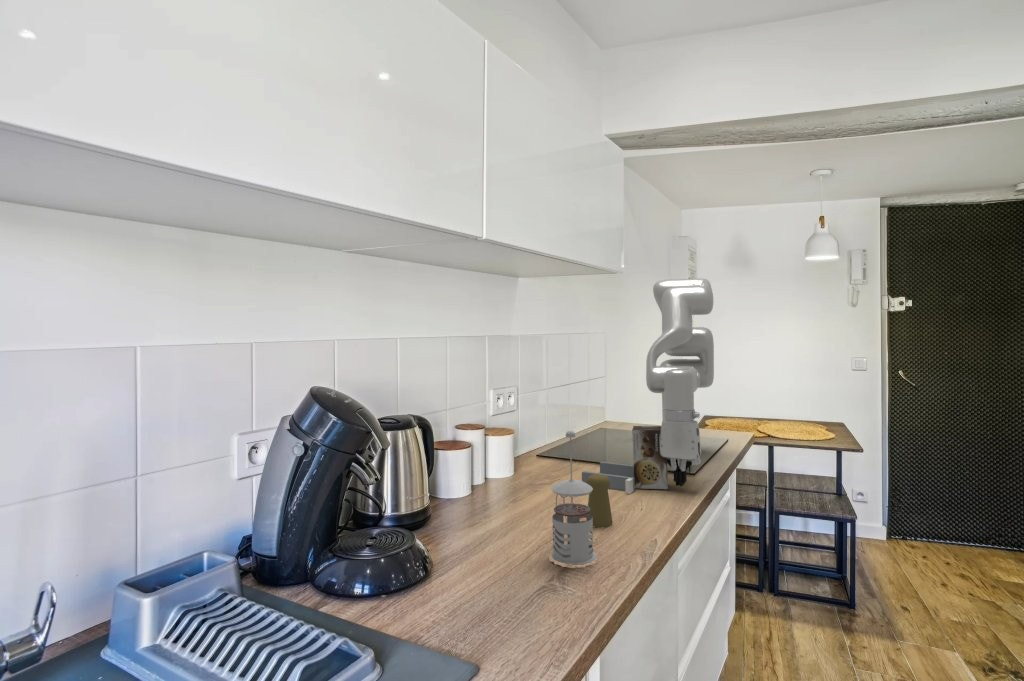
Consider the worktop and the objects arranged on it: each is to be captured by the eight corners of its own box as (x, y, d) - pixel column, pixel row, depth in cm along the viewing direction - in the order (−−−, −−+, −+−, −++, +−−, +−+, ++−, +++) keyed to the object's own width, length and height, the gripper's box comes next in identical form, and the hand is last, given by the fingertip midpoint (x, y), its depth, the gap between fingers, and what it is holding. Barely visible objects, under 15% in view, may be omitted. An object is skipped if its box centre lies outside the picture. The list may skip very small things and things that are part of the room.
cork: (616, 520, 138) (615, 473, 137) (606, 529, 133) (605, 479, 132) (592, 517, 141) (591, 470, 141) (581, 525, 136) (580, 476, 135)
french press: (558, 571, 111) (555, 437, 110) (538, 548, 123) (535, 426, 122) (607, 564, 114) (604, 433, 113) (582, 542, 125) (580, 423, 124)
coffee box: (667, 484, 166) (666, 425, 166) (667, 490, 160) (667, 429, 160) (634, 482, 169) (633, 425, 168) (633, 488, 162) (632, 428, 162)
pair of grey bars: (604, 471, 181) (604, 459, 181) (653, 477, 173) (653, 465, 173) (578, 486, 166) (577, 474, 166) (629, 494, 158) (629, 480, 158)
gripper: (711, 415, 158) (712, 484, 159) (656, 412, 166) (657, 478, 167) (704, 419, 152) (705, 492, 153) (647, 416, 160) (648, 484, 160)
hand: (680, 484), depth 160 cm, fingers closed
